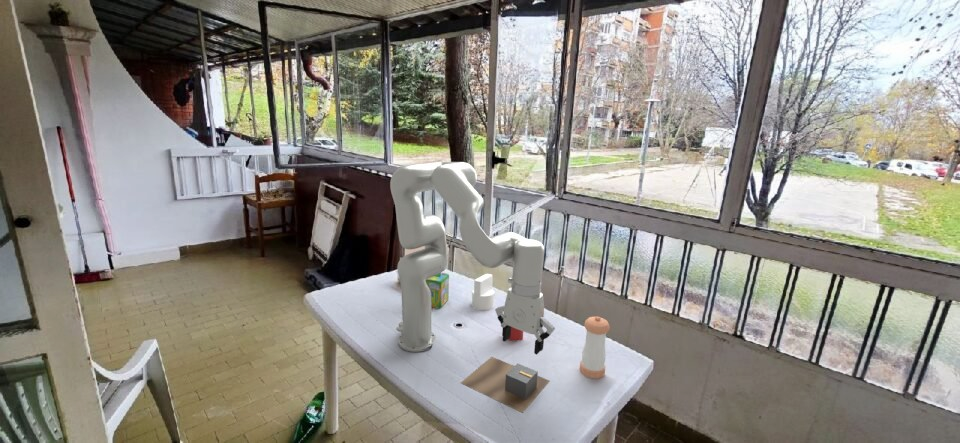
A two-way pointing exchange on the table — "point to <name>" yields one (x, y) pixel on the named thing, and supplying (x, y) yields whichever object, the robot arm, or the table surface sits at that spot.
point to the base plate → (500, 384)
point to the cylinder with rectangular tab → (483, 293)
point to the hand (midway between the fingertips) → (521, 345)
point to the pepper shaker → (594, 348)
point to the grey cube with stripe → (521, 381)
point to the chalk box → (438, 289)
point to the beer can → (516, 334)
